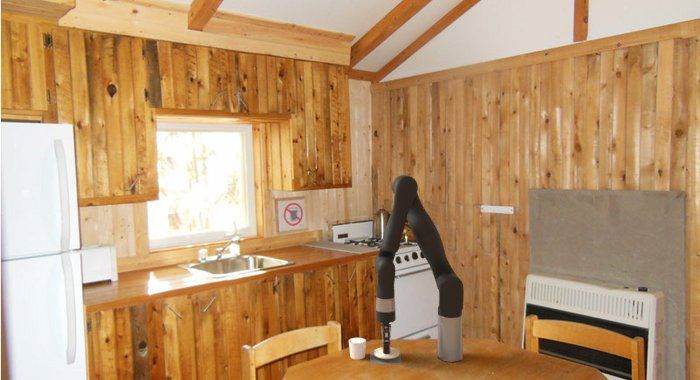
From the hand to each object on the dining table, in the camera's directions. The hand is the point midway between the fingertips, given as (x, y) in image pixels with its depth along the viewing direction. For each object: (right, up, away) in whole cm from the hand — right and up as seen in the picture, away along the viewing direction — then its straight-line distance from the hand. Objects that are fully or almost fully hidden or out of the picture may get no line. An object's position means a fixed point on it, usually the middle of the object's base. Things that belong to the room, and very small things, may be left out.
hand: (386, 351), depth 197 cm
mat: (0, -3, 0) cm, 3 cm away
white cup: (-11, -3, +2) cm, 12 cm away
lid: (0, -1, 0) cm, 1 cm away
